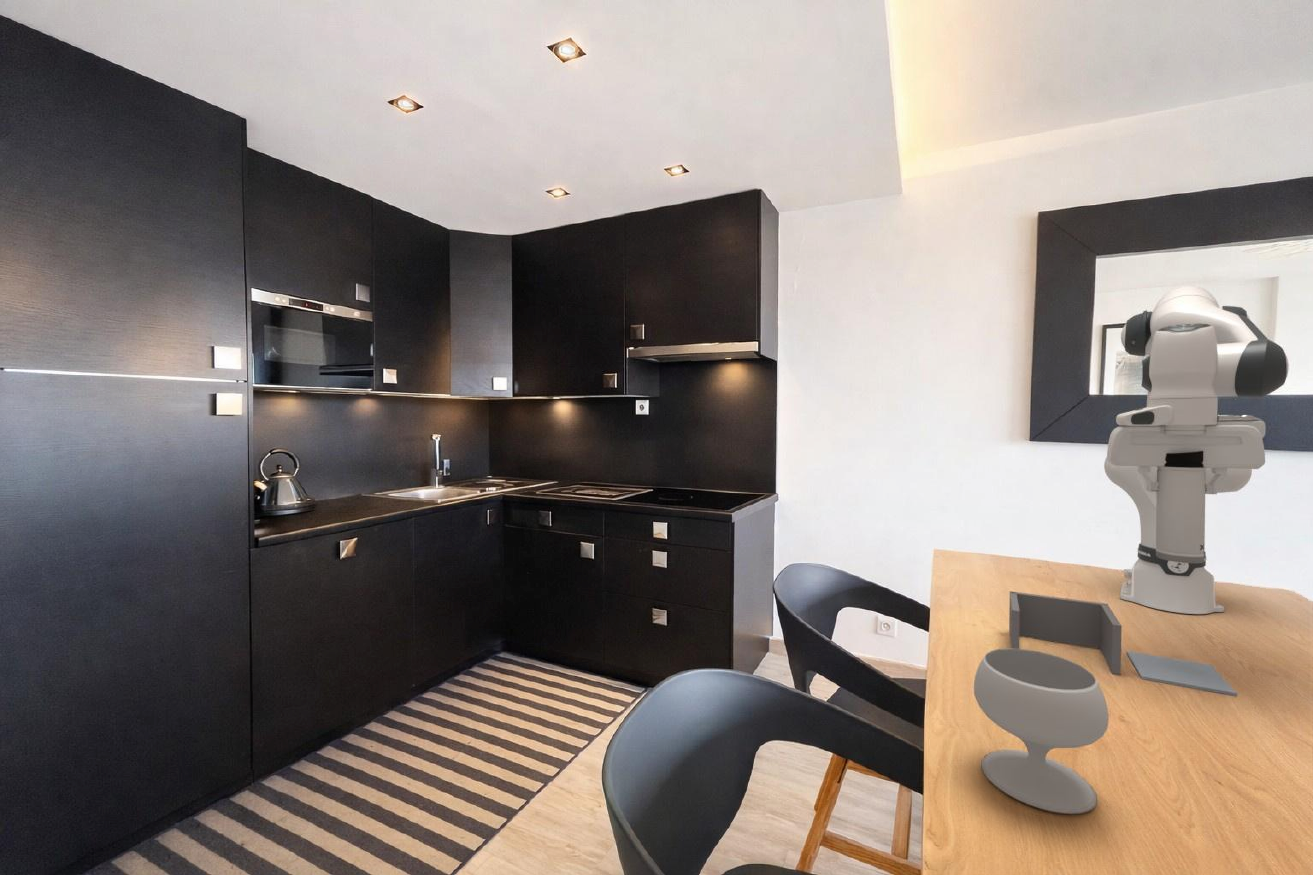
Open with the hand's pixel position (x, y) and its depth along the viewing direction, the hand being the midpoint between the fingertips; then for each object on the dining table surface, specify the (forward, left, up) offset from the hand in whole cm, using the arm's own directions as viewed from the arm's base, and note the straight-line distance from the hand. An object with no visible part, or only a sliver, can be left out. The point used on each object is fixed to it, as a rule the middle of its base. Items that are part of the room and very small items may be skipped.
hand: (1180, 492), depth 97 cm
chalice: (+48, -24, -33) cm, 63 cm away
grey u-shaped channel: (0, -17, -33) cm, 37 cm away
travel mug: (0, 0, -12) cm, 12 cm away
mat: (0, 0, -33) cm, 33 cm away
